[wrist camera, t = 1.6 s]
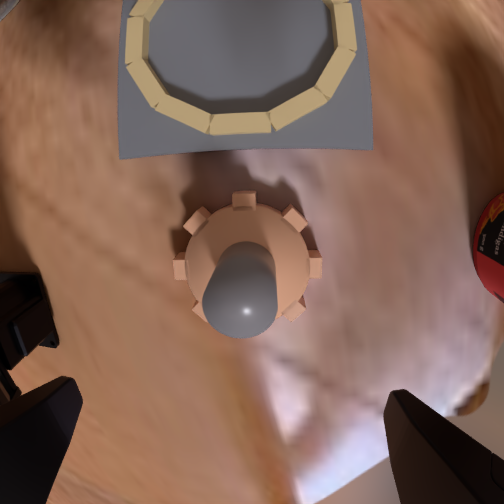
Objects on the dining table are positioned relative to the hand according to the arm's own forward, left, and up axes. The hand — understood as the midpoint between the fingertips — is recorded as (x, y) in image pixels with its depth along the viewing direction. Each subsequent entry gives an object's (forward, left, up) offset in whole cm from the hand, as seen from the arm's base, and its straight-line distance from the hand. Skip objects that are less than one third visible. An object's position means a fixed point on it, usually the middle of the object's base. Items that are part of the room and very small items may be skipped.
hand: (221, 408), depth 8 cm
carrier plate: (0, +17, -12) cm, 21 cm away
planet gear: (0, 0, -12) cm, 12 cm away
